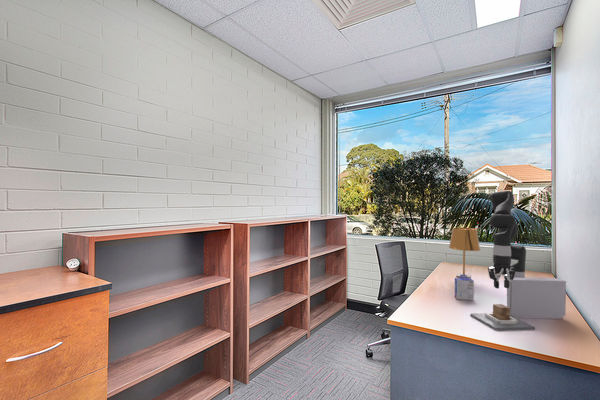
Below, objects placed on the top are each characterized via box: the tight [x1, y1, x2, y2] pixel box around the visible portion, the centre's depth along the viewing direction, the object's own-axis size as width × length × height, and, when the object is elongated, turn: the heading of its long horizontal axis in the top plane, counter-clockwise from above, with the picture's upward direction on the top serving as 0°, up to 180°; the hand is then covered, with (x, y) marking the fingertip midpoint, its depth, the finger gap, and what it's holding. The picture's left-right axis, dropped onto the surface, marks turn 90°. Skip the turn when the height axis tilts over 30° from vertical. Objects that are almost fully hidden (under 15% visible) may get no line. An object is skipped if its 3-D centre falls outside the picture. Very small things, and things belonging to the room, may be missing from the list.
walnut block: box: [492, 303, 510, 320], centre depth 150 cm, size 5×5×7 cm
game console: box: [506, 277, 567, 320], centre depth 159 cm, size 6×27×20 cm, turn 88°
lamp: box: [448, 227, 481, 279], centre depth 224 cm, size 21×21×41 cm
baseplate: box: [469, 312, 536, 331], centre depth 150 cm, size 20×18×3 cm
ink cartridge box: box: [454, 275, 475, 301], centre depth 187 cm, size 10×6×14 cm, turn 78°
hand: (501, 287), depth 150 cm, fingers open, 4 cm apart
